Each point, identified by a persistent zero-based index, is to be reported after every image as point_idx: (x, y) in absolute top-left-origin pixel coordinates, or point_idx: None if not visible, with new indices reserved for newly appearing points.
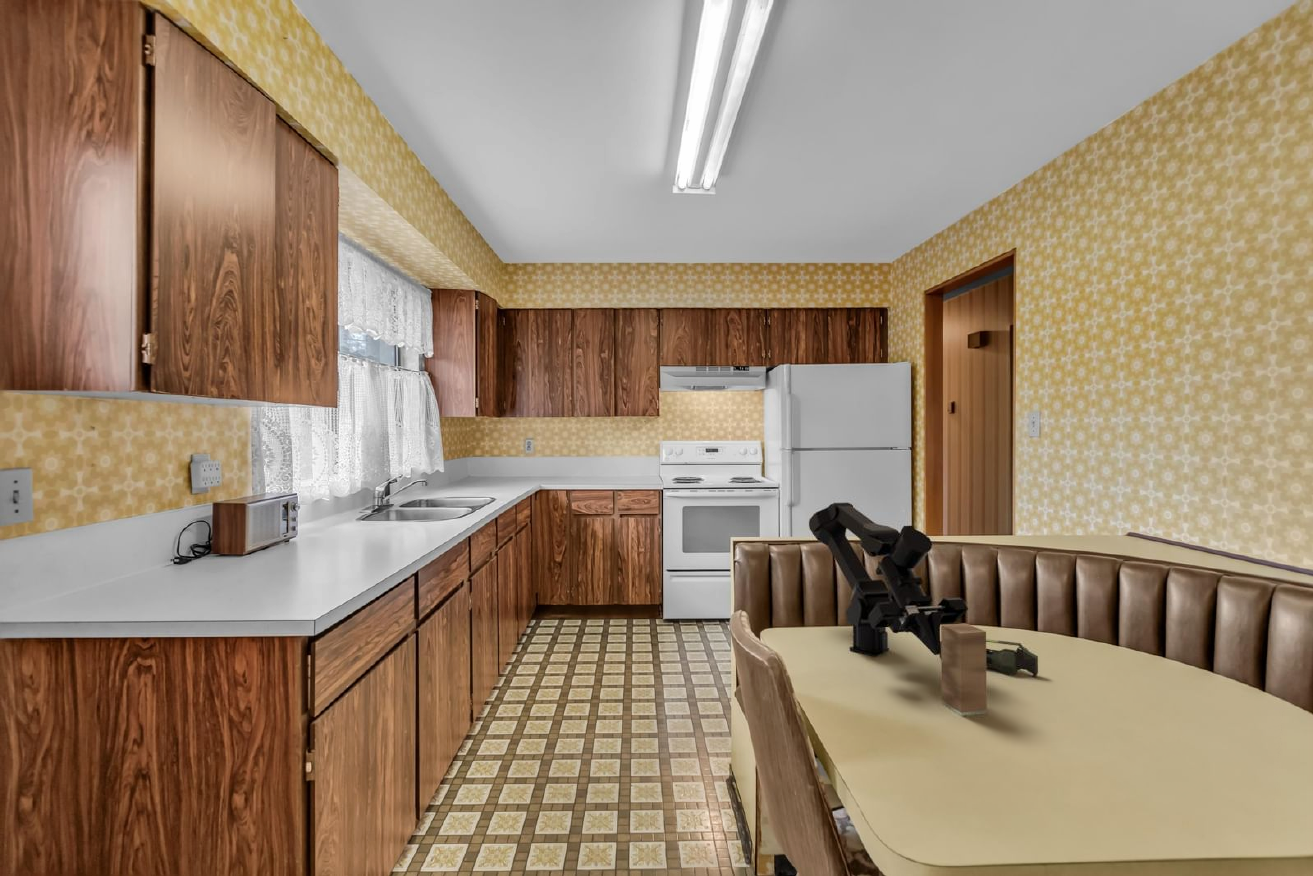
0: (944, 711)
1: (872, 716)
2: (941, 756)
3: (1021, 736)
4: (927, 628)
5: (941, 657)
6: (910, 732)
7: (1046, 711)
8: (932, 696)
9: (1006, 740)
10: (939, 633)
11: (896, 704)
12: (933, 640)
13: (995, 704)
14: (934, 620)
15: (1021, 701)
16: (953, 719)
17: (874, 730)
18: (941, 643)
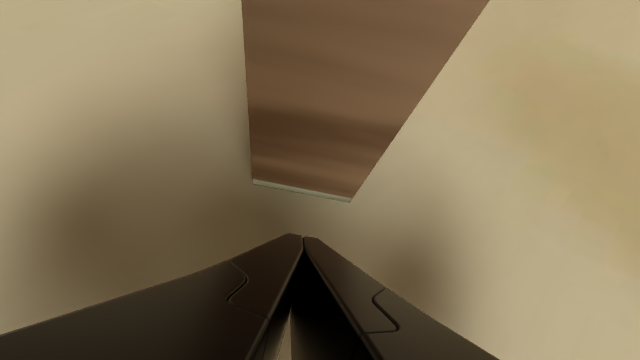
0: (381, 161)
1: (603, 220)
2: (532, 30)
3: None
4: (389, 305)
5: (413, 109)
6: (543, 116)
7: (87, 41)
8: None
9: None
10: (239, 257)
11: (495, 259)
12: (330, 258)
13: (181, 131)
14: (227, 332)
15: (70, 110)
16: None
17: (624, 158)
18: (456, 46)
